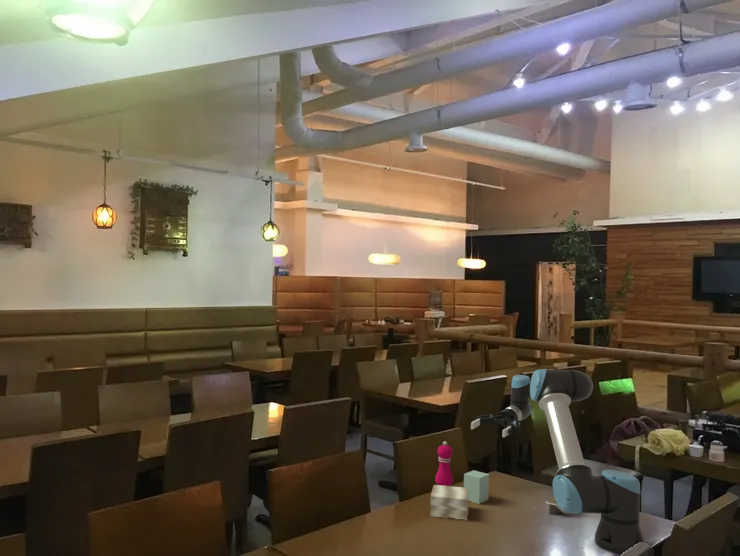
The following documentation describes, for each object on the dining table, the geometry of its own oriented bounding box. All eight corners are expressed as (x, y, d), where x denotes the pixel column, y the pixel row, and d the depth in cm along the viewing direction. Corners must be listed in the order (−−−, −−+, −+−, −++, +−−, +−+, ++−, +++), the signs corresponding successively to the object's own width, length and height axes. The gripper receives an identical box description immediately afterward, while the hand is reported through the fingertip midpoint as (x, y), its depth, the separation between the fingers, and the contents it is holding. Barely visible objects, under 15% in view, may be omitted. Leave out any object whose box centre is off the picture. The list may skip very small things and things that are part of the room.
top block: (468, 498, 236) (468, 487, 236) (466, 510, 223) (467, 499, 223) (433, 495, 238) (433, 484, 238) (430, 507, 226) (430, 496, 226)
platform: (590, 519, 229) (591, 501, 229) (547, 523, 223) (547, 504, 224) (571, 507, 240) (571, 490, 240) (529, 511, 235) (529, 493, 235)
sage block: (473, 495, 250) (473, 470, 250) (488, 499, 245) (489, 474, 245) (463, 499, 244) (464, 474, 245) (479, 504, 240) (479, 478, 240)
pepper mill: (432, 488, 257) (433, 439, 257) (448, 487, 259) (449, 438, 259) (439, 494, 250) (440, 444, 250) (455, 493, 252) (457, 443, 252)
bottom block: (468, 509, 236) (468, 498, 236) (467, 522, 223) (467, 510, 223) (433, 505, 238) (434, 495, 239) (430, 518, 226) (430, 507, 226)
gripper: (537, 432, 259) (516, 446, 242) (482, 418, 274) (458, 431, 257) (538, 414, 258) (517, 427, 241) (483, 402, 273) (459, 413, 256)
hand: (487, 429), depth 249 cm, fingers open, 13 cm apart
